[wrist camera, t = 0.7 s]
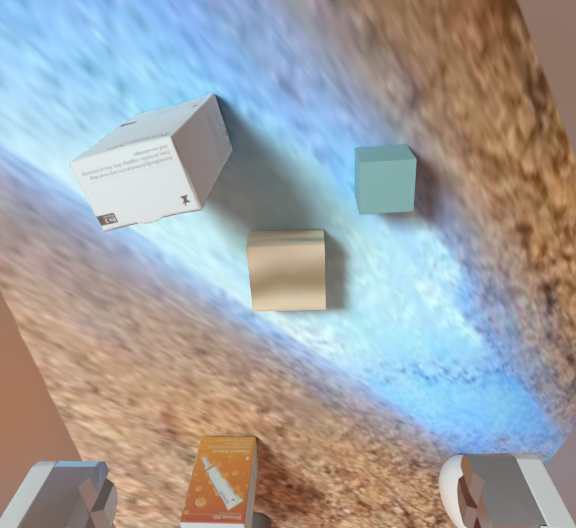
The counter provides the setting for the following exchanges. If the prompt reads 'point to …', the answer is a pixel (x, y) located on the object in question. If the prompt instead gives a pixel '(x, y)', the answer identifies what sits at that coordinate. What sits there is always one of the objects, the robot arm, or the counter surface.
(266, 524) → the flask
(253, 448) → the small box
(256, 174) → the counter surface
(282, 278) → the maple block
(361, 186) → the teal cube
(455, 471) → the egg
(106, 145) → the skincare box
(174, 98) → the counter surface
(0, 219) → the counter surface
